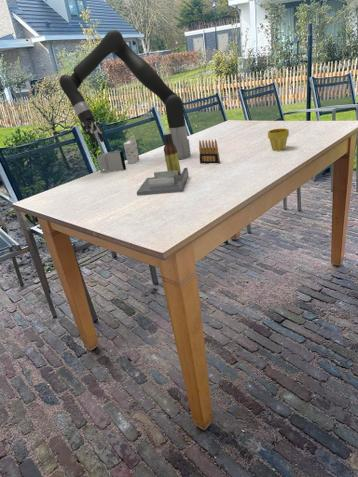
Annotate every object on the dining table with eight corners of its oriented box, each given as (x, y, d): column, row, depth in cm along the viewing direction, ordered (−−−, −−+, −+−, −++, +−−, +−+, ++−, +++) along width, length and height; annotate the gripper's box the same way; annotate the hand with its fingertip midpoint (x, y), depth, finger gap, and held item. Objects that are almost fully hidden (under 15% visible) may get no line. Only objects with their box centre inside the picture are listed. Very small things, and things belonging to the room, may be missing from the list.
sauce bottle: (182, 172, 180) (176, 131, 172) (178, 176, 175) (172, 134, 166) (170, 173, 182) (164, 132, 174) (165, 176, 177) (159, 135, 169)
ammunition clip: (220, 162, 187) (217, 138, 182) (218, 163, 185) (216, 139, 180) (201, 162, 192) (198, 139, 187) (200, 163, 191) (197, 140, 186)
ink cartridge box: (131, 160, 220) (126, 135, 214) (139, 159, 219) (134, 134, 213) (127, 164, 213) (122, 138, 207) (135, 163, 212) (130, 137, 205)
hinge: (100, 174, 201) (96, 155, 197) (102, 171, 206) (98, 153, 202) (125, 170, 201) (121, 151, 196) (126, 167, 206) (122, 149, 201)
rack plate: (188, 176, 172) (187, 166, 170) (182, 191, 154) (181, 179, 152) (147, 180, 176) (145, 170, 173) (137, 195, 158) (135, 184, 156)
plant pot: (281, 152, 187) (280, 133, 183) (264, 151, 195) (263, 132, 191) (292, 147, 193) (292, 128, 189) (276, 146, 201) (275, 128, 196)
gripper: (81, 107, 181) (97, 137, 182) (96, 110, 194) (111, 137, 195) (70, 115, 184) (86, 145, 185) (85, 117, 197) (100, 144, 198)
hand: (99, 141), depth 190 cm, fingers open, 8 cm apart
